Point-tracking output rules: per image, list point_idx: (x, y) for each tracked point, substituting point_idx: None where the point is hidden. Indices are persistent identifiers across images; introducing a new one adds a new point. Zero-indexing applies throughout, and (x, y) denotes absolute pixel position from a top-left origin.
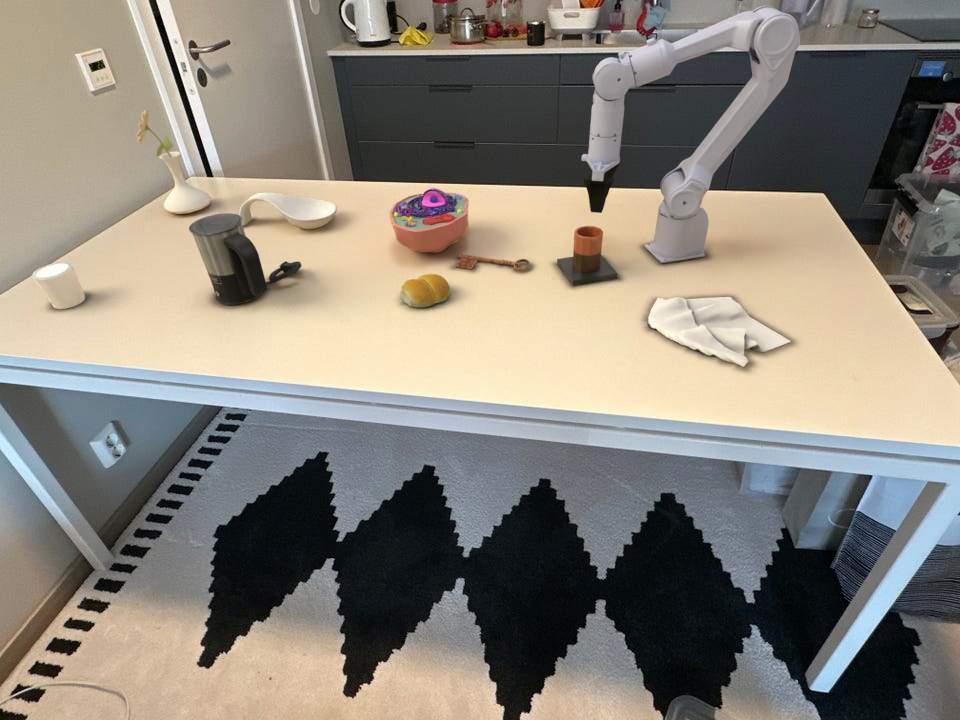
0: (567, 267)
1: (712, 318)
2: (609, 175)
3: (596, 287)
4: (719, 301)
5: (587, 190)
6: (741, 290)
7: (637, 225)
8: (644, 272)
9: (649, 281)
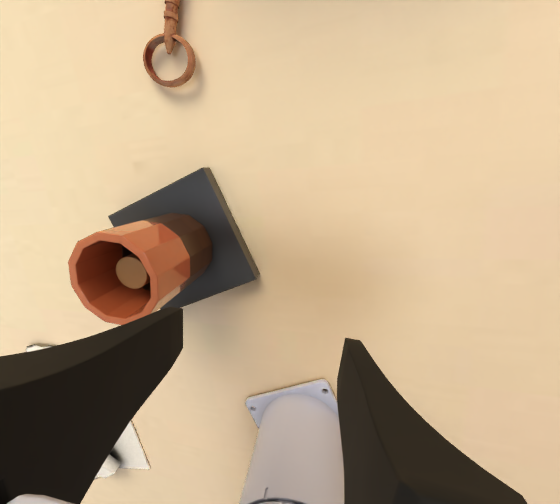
0: (162, 199)
1: None
2: (349, 495)
3: None
4: (131, 451)
5: (43, 349)
6: (176, 486)
7: (459, 379)
8: (207, 361)
9: (174, 364)
